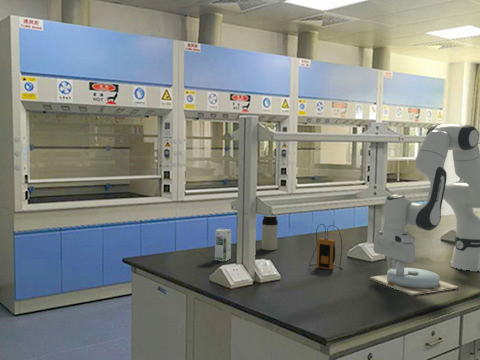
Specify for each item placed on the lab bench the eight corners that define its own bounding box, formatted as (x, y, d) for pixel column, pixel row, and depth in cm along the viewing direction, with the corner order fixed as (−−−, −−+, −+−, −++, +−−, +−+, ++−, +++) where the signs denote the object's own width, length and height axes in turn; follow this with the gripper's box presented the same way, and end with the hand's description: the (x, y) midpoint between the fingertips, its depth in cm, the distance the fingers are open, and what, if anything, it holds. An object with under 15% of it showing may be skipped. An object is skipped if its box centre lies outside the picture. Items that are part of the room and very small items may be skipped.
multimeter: (347, 266, 231) (348, 223, 229) (339, 271, 222) (341, 226, 220) (316, 262, 238) (318, 220, 236) (308, 266, 230) (310, 222, 228)
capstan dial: (412, 272, 218) (413, 252, 217) (450, 284, 200) (451, 262, 199) (376, 276, 209) (377, 256, 208) (412, 290, 191) (413, 267, 190)
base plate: (413, 273, 220) (413, 270, 220) (458, 289, 199) (458, 285, 199) (369, 279, 210) (369, 275, 210) (411, 296, 189) (412, 292, 188)
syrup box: (214, 260, 237) (214, 229, 236) (220, 257, 242) (221, 228, 241) (225, 262, 234) (225, 231, 233) (231, 259, 240) (231, 229, 238)
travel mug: (273, 251, 258) (274, 216, 257) (259, 249, 262) (260, 215, 260) (279, 248, 265) (280, 214, 264) (265, 246, 269) (266, 213, 267)
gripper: (370, 230, 212) (369, 263, 213) (406, 240, 193) (404, 275, 195) (382, 229, 215) (380, 261, 216) (418, 238, 196) (416, 273, 197)
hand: (392, 268), depth 205 cm, fingers closed
